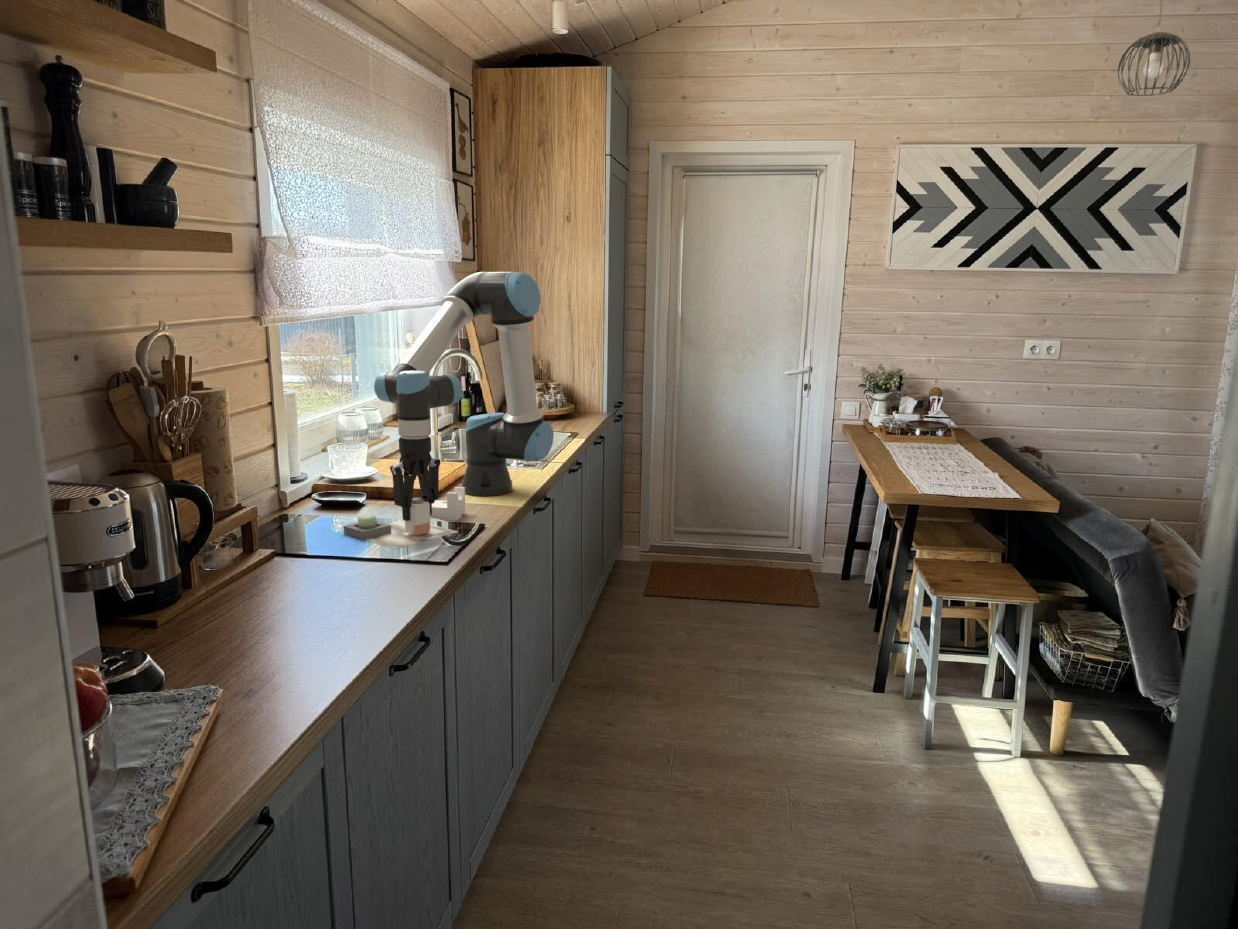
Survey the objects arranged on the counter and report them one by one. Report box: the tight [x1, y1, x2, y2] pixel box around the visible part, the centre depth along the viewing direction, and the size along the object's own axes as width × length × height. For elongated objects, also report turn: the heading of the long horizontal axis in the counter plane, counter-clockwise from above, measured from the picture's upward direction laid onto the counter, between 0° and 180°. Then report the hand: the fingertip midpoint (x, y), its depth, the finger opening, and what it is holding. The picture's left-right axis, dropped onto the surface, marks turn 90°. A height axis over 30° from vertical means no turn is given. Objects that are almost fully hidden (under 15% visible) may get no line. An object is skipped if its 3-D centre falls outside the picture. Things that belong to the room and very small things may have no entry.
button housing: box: [343, 520, 391, 541], centre depth 211 cm, size 8×8×2 cm
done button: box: [357, 514, 378, 529], centre depth 210 cm, size 4×4×2 cm
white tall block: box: [411, 497, 431, 536], centre depth 209 cm, size 4×4×8 cm
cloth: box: [365, 519, 458, 550], centre depth 212 cm, size 21×21×1 cm
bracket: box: [430, 486, 466, 522], centre depth 230 cm, size 13×7×8 cm, turn 82°
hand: (418, 530), depth 210 cm, fingers closed on white tall block, 4 cm apart
